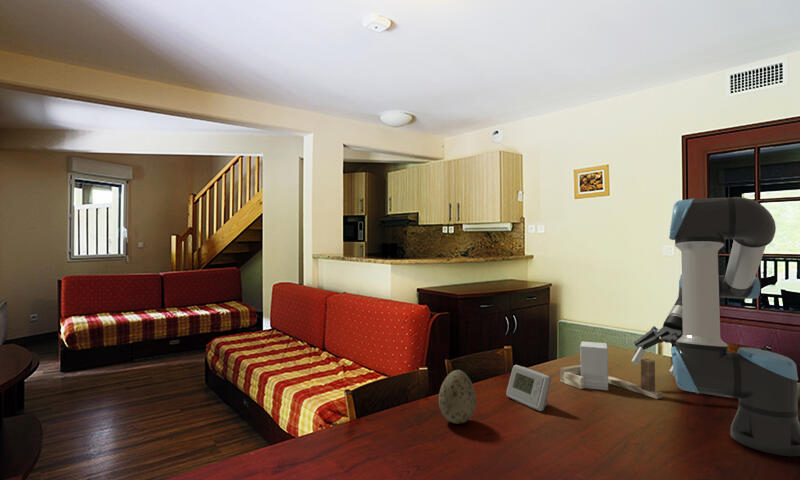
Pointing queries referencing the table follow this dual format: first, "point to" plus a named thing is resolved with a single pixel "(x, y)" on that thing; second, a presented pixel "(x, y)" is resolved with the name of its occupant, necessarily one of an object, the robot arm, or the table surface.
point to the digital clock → (528, 387)
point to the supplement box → (594, 365)
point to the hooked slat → (647, 387)
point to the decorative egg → (457, 397)
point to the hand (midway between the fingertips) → (652, 368)
